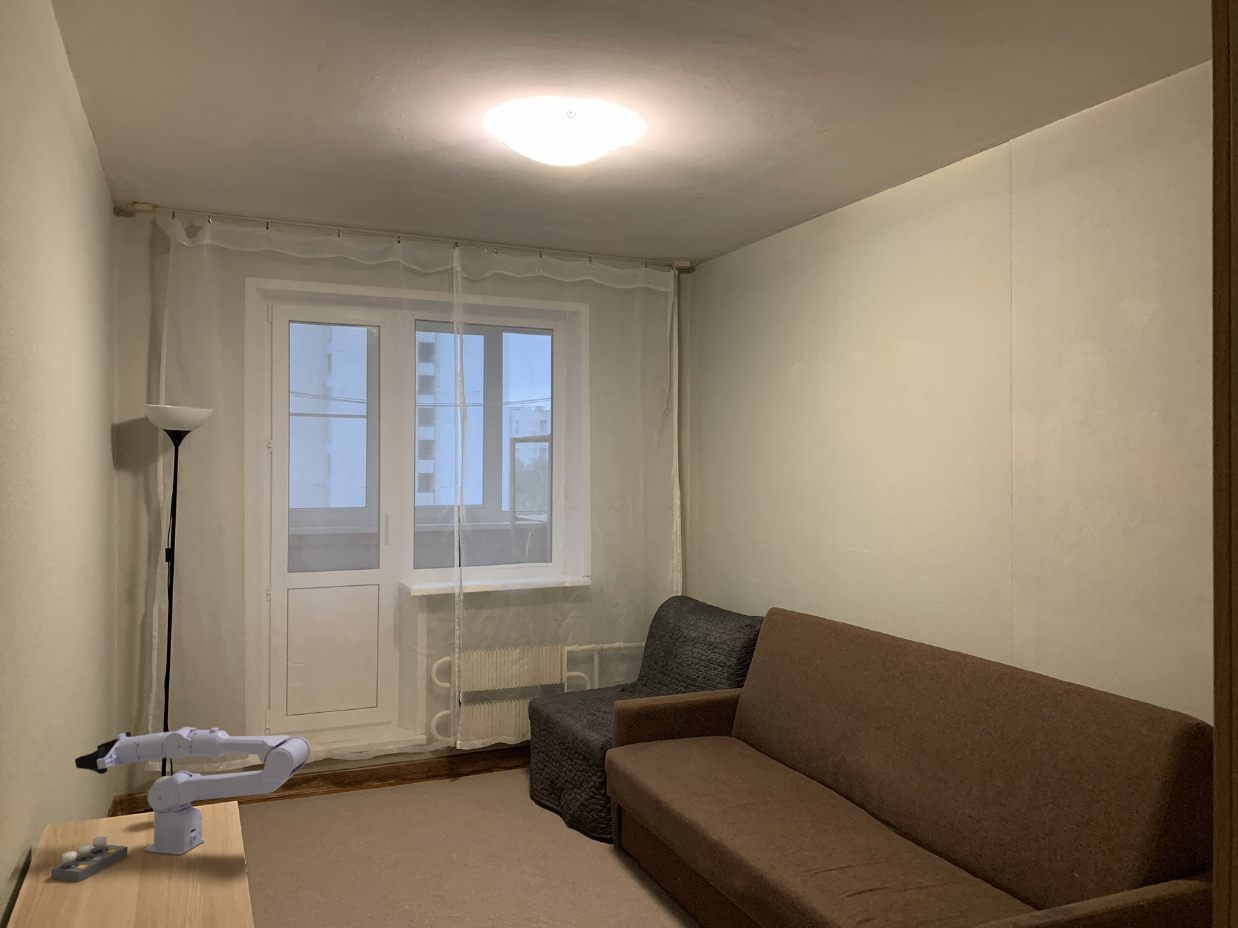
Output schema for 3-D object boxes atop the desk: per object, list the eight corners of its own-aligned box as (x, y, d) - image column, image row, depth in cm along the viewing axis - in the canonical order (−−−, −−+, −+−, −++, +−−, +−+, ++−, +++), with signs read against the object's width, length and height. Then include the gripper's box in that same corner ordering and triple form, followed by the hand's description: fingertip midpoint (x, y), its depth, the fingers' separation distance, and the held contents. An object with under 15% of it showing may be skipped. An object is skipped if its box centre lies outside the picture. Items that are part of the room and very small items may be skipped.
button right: (109, 842, 194) (109, 837, 194) (99, 847, 191) (99, 841, 191) (99, 841, 194) (99, 836, 194) (89, 846, 192) (89, 840, 192)
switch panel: (127, 855, 195) (127, 845, 195) (79, 881, 182) (79, 871, 182) (100, 853, 196) (100, 843, 196) (51, 878, 184) (51, 867, 184)
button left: (79, 857, 186) (79, 851, 186) (69, 862, 183) (69, 857, 184) (69, 856, 187) (69, 850, 187) (58, 861, 184) (58, 855, 184)
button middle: (94, 849, 190) (94, 844, 190) (84, 854, 187) (84, 849, 187) (84, 848, 190) (84, 843, 191) (74, 853, 188) (74, 848, 188)
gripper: (159, 719, 208) (104, 728, 209) (120, 743, 193) (62, 751, 194) (164, 748, 208) (110, 756, 209) (127, 774, 194) (69, 782, 195)
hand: (87, 756), depth 202 cm, fingers open, 7 cm apart
